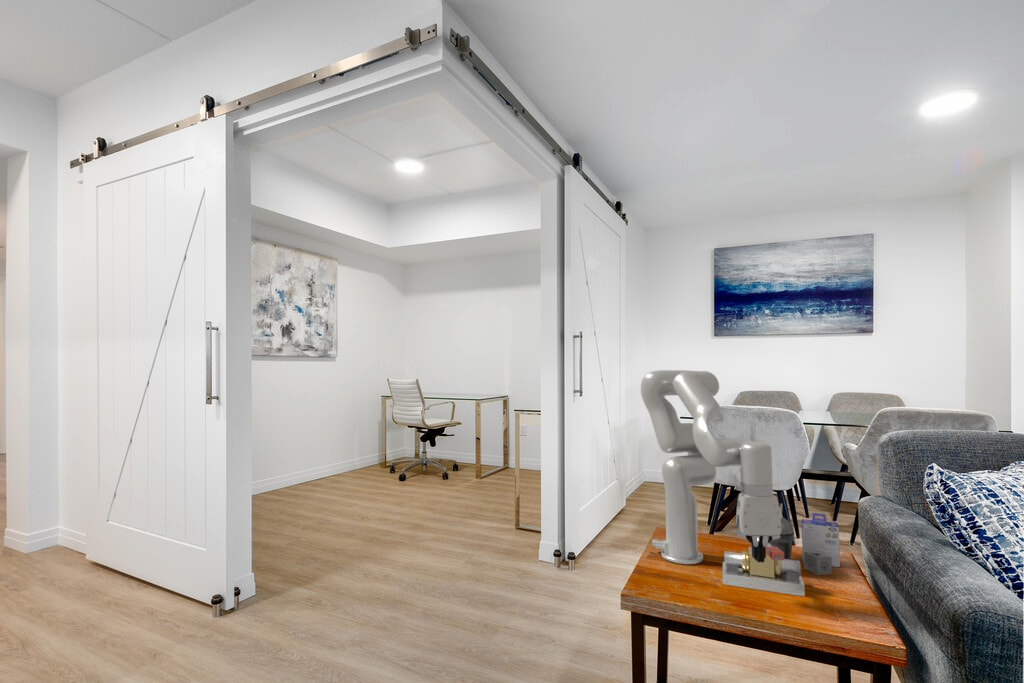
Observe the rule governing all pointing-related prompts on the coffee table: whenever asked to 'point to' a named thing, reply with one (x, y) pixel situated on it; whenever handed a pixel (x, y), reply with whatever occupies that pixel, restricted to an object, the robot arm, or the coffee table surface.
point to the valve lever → (773, 552)
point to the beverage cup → (784, 537)
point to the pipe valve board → (763, 582)
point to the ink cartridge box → (821, 537)
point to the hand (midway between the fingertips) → (758, 560)
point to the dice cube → (817, 562)
